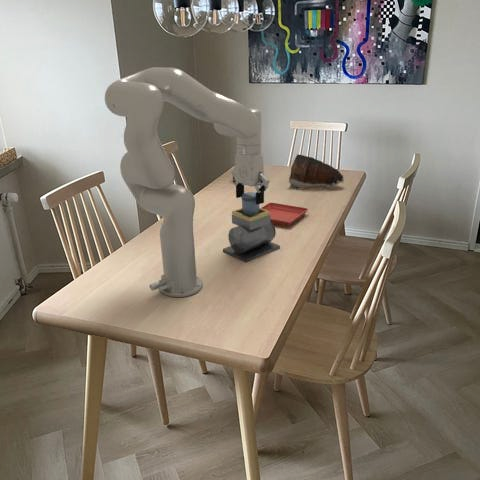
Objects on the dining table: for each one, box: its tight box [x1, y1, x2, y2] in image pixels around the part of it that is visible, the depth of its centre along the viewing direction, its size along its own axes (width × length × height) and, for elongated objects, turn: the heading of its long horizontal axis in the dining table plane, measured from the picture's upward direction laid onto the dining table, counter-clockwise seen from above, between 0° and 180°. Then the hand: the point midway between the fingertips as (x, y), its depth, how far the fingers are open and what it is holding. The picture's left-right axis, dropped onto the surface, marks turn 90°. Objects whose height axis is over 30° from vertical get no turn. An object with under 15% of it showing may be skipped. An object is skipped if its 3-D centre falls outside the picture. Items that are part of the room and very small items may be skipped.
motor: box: [222, 207, 281, 263], centre depth 162 cm, size 16×12×14 cm
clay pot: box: [288, 154, 345, 190], centre depth 227 cm, size 15×15×25 cm
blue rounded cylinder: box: [240, 191, 260, 217], centre depth 158 cm, size 6×6×7 cm
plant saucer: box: [261, 202, 309, 228], centre depth 192 cm, size 18×18×3 cm
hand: (249, 200), depth 157 cm, fingers open, 9 cm apart
